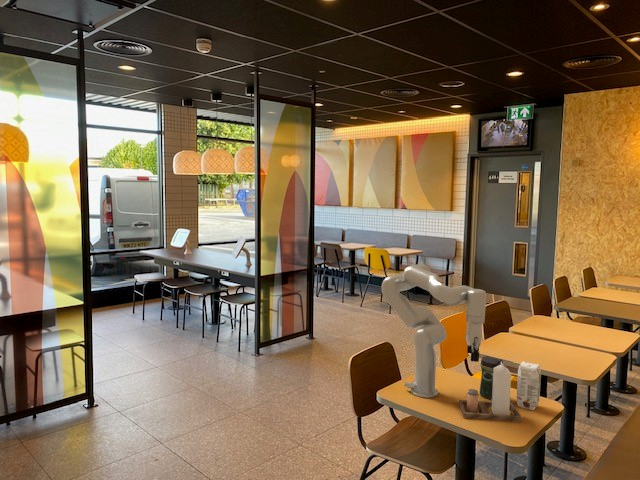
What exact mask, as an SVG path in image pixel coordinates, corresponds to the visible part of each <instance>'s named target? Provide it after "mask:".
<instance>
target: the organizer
mask: <svg viewBox="0 0 640 480" xmlns="http://www.w3.org/2000/svg"><path fill="white" fill-rule="evenodd" d="M458 406H459V407H458V408H459V410H460V413H461V416H462V418H463V419H469V420H470V419H473V420H484V421H485V420H486V421H499V422H500V421H503V422H513V423H514V422H516V423H517V422H518V423H522V417H521V414H520V413H519V412H518V409H516V407H515V405H514V403H513V402H510V407H509V410H510V411H511V412H512V414H513V415H510V414H509V415H497V414H493V413H490V411H489V409H488V408H492V401H484V400H478V411H479V413H468V412H467V410H466V407H467V399H458ZM465 406H466V407H465Z"/></svg>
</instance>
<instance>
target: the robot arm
mask: <svg viewBox="0 0 640 480" xmlns="http://www.w3.org/2000/svg"><path fill="white" fill-rule="evenodd" d="M440 280H441V279H440V276H439V274H436V273H434V272H431V269H430V267H429V266H427V265H426V264H423V263H418V264H417V263H416V264H413V265H409V266H407V267H405V268H404V270H403V273H399V274H392V275H390V276H386V277H385V278H384V279H383V281H382V283H381V293H382V296H383V298H384V300H385V301H386V302H387V303H388V304H389V305H390V307H391V308H392V309H393V310H394V312H395V313H396V315H397V316H398V317H399V319H400V320H401V321H402V322H403V324H404V325H405V326H406V327H407V328H408V329H416V330H415V332H414V333H413V334H414V335H413V343H414V352H415V353H414V379H413V381H411V382H409V381H408V382H406V381H405V382H404V387H406V388H407V389H410V391H411V394H413V395H414V396H415V397H419V398H425V399H426V398H431V399H432V398H435V397H437V396H439V390H438V388H436V368H437V367H436V366H437V355H436V354H437V353H436V350H435V348H434V347H435V345H438V344H441V343H442V342H444V341H446V338H447V330H446V328H445V327H444V325H443V323H442V322H441V321H440V319H438V317H437V316H436V315H435V314H434V313H433V311H432V310H431V309H430V308H428V306H425V305H418V306H415V305H414V304H412V302H411V301H410V300H409V298H407V297H406V296H405V295H403V294H402V293H401V292H403V291H408V290H410V289H412V288H415V287H419V288H420V289H423V290H426V291H427V292H429V293H430V295H432V297H433V298H434V299H435V300H437V301H438V302H441V303H444V304H446V305H449V306H458V305H461V304H466V314H465V315H466V317H465V321H466V323H467V325H466V332H465V334H466V335H465V342H466V343H467V351H466V352H467V354H470V361H471V362H476V363H478V362H479V361H480V347H481V344H482V330H483V329H482V328H483V327H482V325H483V324H485V320H486V319H485V318H486V307H487V305H486V304H487V292H486V291H485V290H483V289H480V288H473V287H471V286H468V285H466V284H465V285H463V284H462V285H457V286H453V287H450V286H448V285H444V284H443V283H441V282H440Z"/></svg>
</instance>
